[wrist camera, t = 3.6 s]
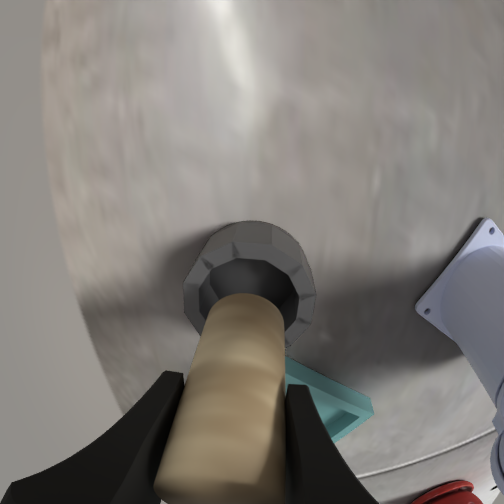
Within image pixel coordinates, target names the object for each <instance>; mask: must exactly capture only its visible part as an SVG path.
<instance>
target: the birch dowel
mask: <svg viewBox="0 0 504 504" xmlns="http://www.w3.org/2000/svg"><path fill="white" fill-rule="evenodd" d="M285 397H286V391H285V334H284V320H283V317H282V315H281V313H280V311H279V310H278V309H277V307H276V306H275V305H274V304H273V303H271V302H270V301H268V300H267V299H265V298H263V297H261V296H258V295H254V294H248V293H238V294H232V295H229V296H226V297H224V298H222V299H220V300H219V301H218V302H216V303H215V304H214V305H213V307H212V308H211V310H210V311H209V314H208V316H207V319H206V322H205V325H204V328H203V331H202V334H201V337H200V340H199V343H198V346H197V349H196V352H195V355H194V358H193V361H192V365H191V368H190V371H189V374H188V377H187V380H186V383H185V386H184V389H183V392H182V395H181V398H180V401H179V405H178V408H177V411H176V414H175V417H174V420H173V423H172V427H171V430H170V433H169V436H168V439H167V443H166V446H165V449H164V452H163V455H162V459H161V462H160V465H159V468H158V472H157V475H156V478H155V482H154V485H153V488H154V491H155V493H156V494H157V495H158V497H159V498H161V499H162V500H163V501H164V502H166V503H167V504H285V480H286V409H285Z"/></svg>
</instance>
